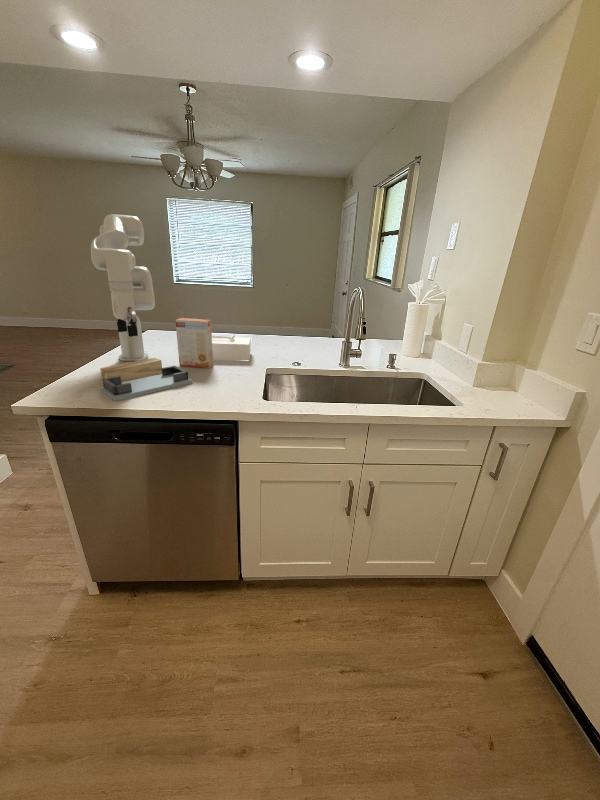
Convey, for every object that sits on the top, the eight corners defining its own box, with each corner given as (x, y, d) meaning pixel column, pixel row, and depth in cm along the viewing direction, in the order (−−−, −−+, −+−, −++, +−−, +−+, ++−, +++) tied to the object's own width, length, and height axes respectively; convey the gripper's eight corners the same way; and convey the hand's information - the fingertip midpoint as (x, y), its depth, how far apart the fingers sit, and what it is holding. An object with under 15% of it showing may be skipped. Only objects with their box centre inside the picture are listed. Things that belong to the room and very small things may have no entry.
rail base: (100, 390, 122) (98, 378, 120) (176, 374, 142) (175, 364, 140) (114, 401, 114) (112, 388, 112) (192, 383, 133) (191, 372, 132)
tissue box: (249, 361, 166) (249, 339, 161) (196, 360, 163) (195, 337, 159) (250, 354, 179) (250, 333, 175) (202, 352, 176) (201, 331, 172)
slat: (102, 383, 129) (100, 368, 127) (156, 371, 145) (154, 357, 143) (109, 386, 126) (106, 371, 124) (162, 373, 143) (161, 360, 140)
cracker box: (213, 364, 157) (211, 319, 149) (209, 368, 152) (206, 321, 143) (184, 362, 158) (180, 317, 150) (178, 366, 152) (174, 319, 144)
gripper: (101, 284, 125) (108, 331, 131) (119, 289, 114) (127, 339, 121) (122, 284, 130) (128, 329, 137) (142, 288, 119) (147, 336, 126)
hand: (128, 333), depth 129 cm, fingers open, 9 cm apart
